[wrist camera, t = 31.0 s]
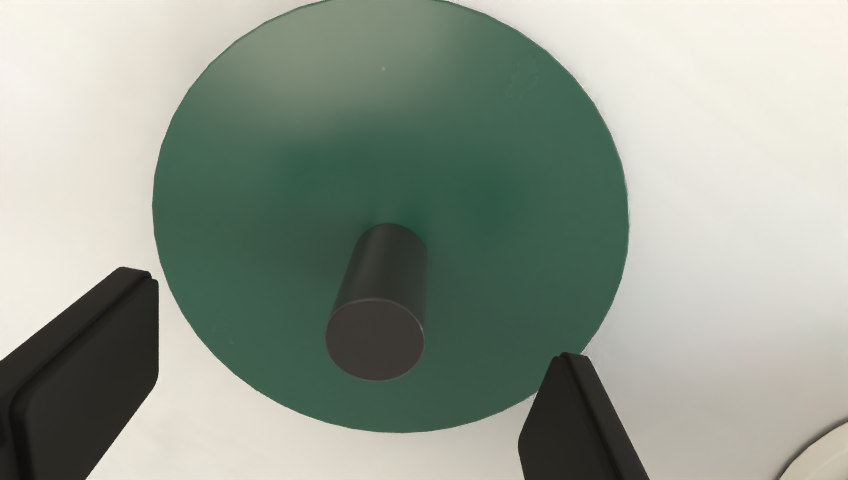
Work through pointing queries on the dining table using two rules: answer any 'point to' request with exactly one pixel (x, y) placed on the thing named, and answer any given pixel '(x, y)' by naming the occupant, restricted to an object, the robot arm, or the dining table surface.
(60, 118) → the dining table surface
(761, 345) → the dining table surface
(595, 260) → the lid
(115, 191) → the dining table surface
